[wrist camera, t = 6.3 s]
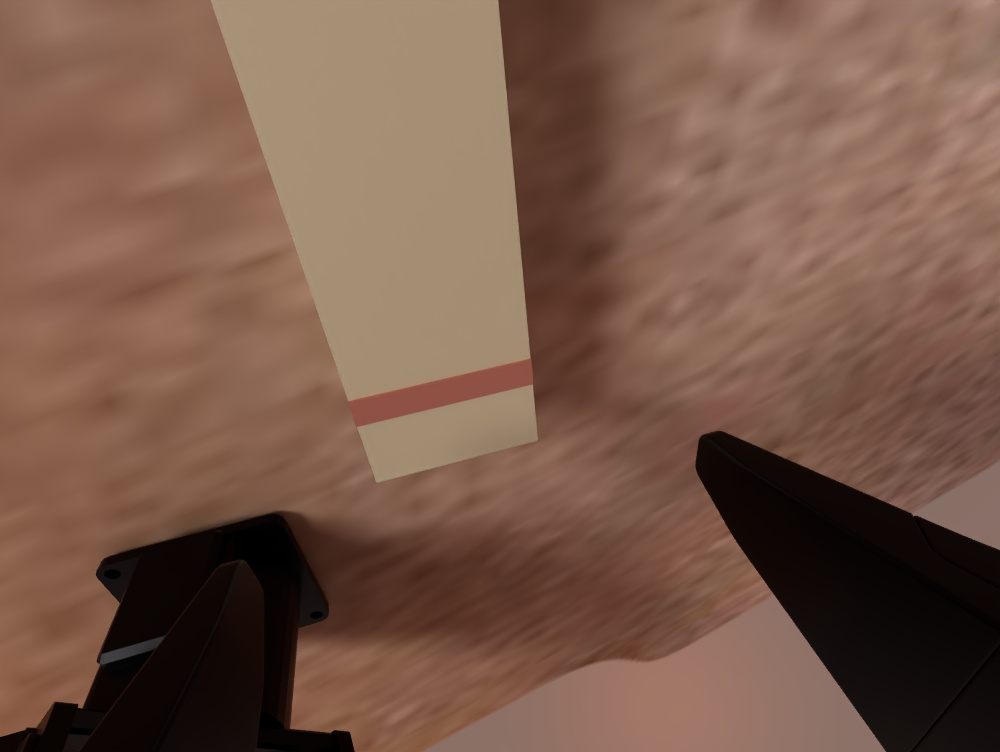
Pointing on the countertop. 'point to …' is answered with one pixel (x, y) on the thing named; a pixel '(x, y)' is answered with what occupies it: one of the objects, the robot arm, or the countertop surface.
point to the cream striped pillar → (399, 211)
